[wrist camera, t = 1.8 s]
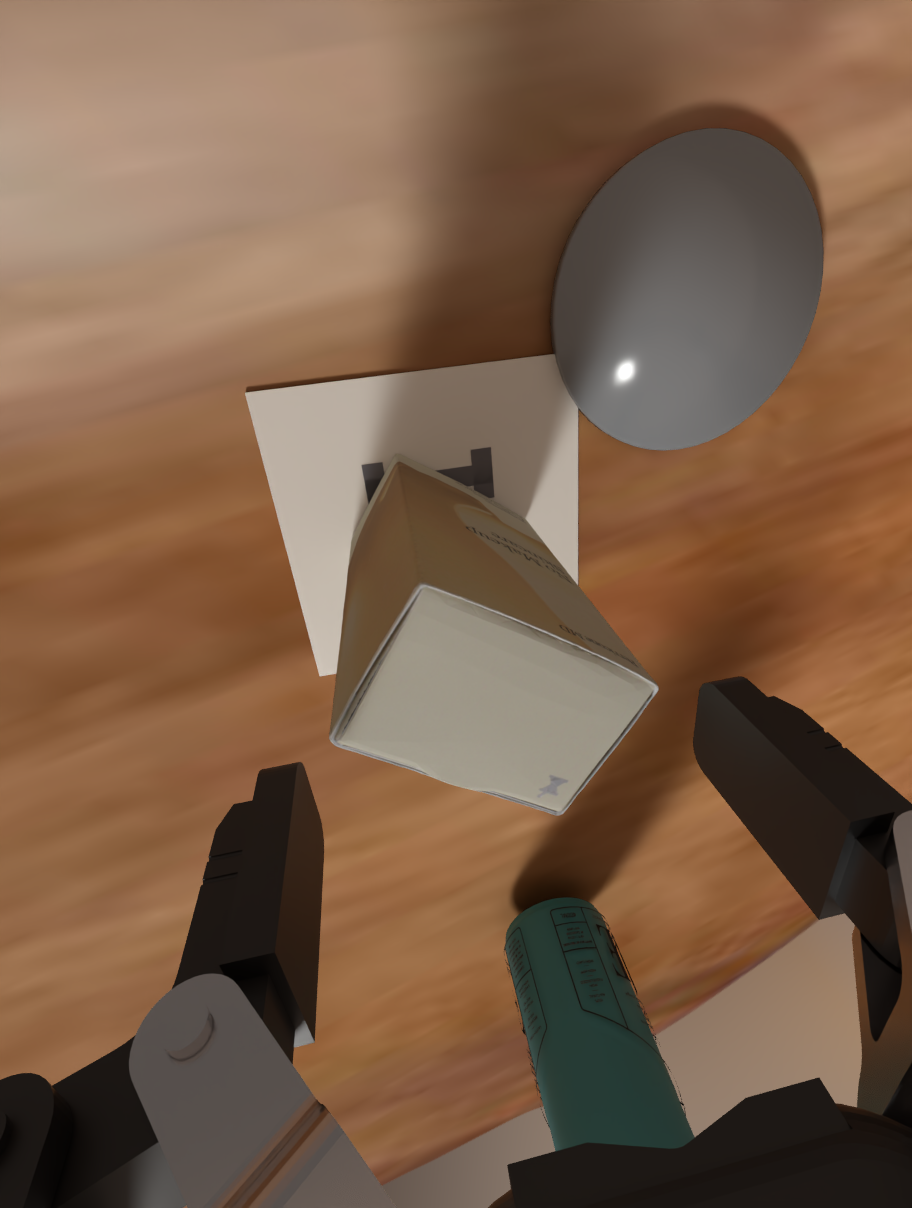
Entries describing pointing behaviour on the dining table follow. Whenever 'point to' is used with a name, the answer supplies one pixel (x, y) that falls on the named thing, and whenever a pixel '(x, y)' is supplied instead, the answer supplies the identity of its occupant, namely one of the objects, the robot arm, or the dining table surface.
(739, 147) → the slate coaster
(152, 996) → the dining table surface
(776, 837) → the robot arm
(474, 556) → the skincare box
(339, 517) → the card
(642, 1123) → the beverage bottle
